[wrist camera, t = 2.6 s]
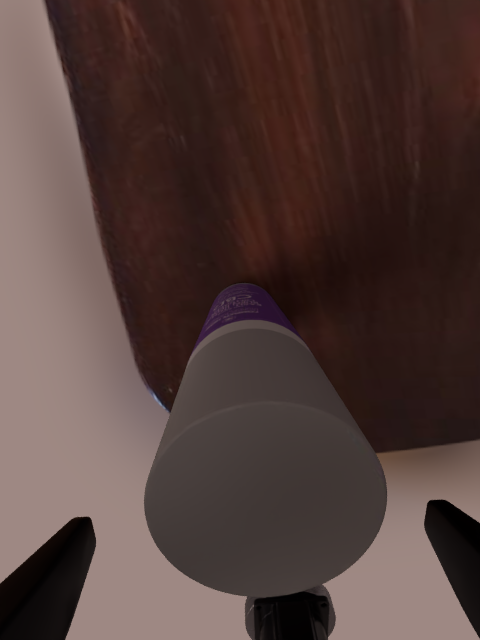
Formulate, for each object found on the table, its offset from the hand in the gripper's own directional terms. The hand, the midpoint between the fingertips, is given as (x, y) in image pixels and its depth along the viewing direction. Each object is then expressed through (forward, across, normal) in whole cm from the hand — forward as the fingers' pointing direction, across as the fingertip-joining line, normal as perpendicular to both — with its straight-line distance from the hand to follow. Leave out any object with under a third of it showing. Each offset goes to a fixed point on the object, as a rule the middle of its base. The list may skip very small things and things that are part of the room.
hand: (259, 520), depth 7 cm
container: (+13, 0, -2) cm, 14 cm away
